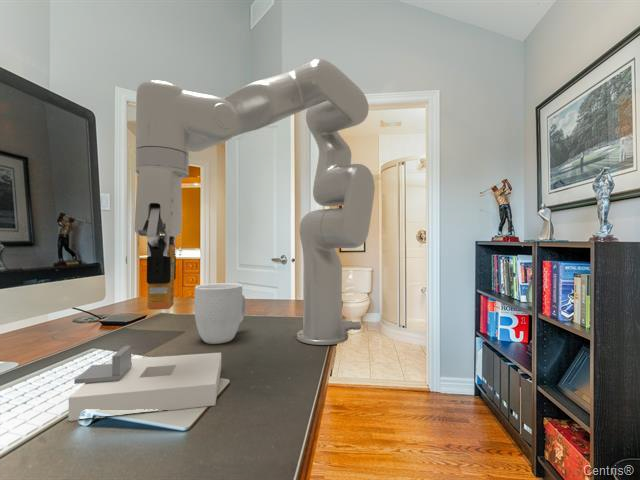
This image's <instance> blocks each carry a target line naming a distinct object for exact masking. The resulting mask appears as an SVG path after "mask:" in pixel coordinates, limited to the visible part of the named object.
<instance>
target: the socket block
mask: <svg viewBox="0 0 640 480" xmlns="http://www.w3.org/2000/svg"><path fill="white" fill-rule="evenodd" d="M131 362H132V366H131V368H130V369H129V370H128V371H127V372H126V373H125V374H124V375H123V376H122V377H121V378H120V380H114V381H102V382H91V383H83V385H82V386H80V387H79V388H78V389H77V390H76V391H75V392H73V393H72V394H71V395H70V396H69V397H68V412H67V413H68V415H67V417H68V418H67V420H68V422H73V421H75V422H76V421H80V420H79V416H80V413H81V411H83V410H85V409H100V410H134V409H135V410H136V409H144V410H145V409H148V410H149V409H153V410H155V409H158V410H168V411H175V410H184V409H185V410H186V409H194V408H203V407H204V408H205V407H211V406H212V407H213V406H216V402H217V397H218V390H219V384H220V378H221V373H222V352H209V353H195V354H193V353H192V354H182V355H181V354H180V355H166V356H153V357H137V358H131ZM107 364H112V359H111V360H110V361H108V362H107ZM103 418H104V417H99V416H96V417H95V418H94V419H103Z"/></svg>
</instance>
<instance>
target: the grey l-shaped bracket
mask: <svg viewBox="0 0 640 480" xmlns="http://www.w3.org/2000/svg"><path fill="white" fill-rule="evenodd" d="M111 357H112V359H111V360H112V364H108V363H107V364H106V363H105V364H92V365H90V367H89V368H87V369H86V370H85V371H83V372H82V373H80V374H79V375H78V376H77V377H76V378H74V381H73V382H74V385H78V384H79V385H80V384H85V383H91V382H102V381H114V380H120V378H121V377H122V376H123V375H124V374H125V373H126V372H127V371H128V370H129V369H130V368H131V366H132V362H131V359H132V345H124V346H123V347H121V348H120V349H119V350H118V351H116V352H115V353H114V354H113V355H112V356H111Z"/></svg>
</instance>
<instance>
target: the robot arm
mask: <svg viewBox="0 0 640 480" xmlns="http://www.w3.org/2000/svg"><path fill="white" fill-rule="evenodd" d="M361 89H362V88H360V87H359V86H358V85H357V84H356V83H354V81H352V79H350V77H349V76H347V75H346V74H345V73H344V72H343V71H342V70H341V69H340V68H339V67H337V66H336V65H335V64H333V63H332V62H329V60H326V59H324V58H314V59H312V60H310V61H308V62H307V63H304V64H302V65H300V66H298V67H297V68H294V69H292V70H289V71H287V72H284V73H280V74H277V75H273V76H270V77H267V78H263V79H260V80H255V81H253V82H251V83H249V84H246V85H245V86H242V87H240V88H239V89H237V90H235V91H233V92H232V93H230V94H228V95H226V96H224V97H219V96H216V95H212V94H206V93H201V92H196V91H190V90H186V89H183V88H182V87H180V86H178V85H177V84H174V83H171V82H168V81H164V80H158V79H151V80H146V81H143V82H142V83H140V84H139V85H138V87H137V89H136V95H135V96H136V97H135V98H136V99H135V103H136V106H135V107H136V108H135V109H136V110H135V111H136V112H135V173H136V174H138V176H137V178H138V179H137V184H136V195H135V196H136V198H135V209H134V211H135V213H134V232H135V234H136V235H137V236H140V237H146V240H147V244H146V245H147V246H146V283H147V285H148V284H167V283H170V281H171V257H168V255H169V244H171V245H175V246H176V238H177V237H179V236H180V235H181V233H182V232H181V231H182V222H183V221H182V219H183V218H182V214H183V213H182V212H183V210H182V209H183V208H182V207H183V205H182V203H183V201H182V200H183V195H182V194H183V193H182V192H183V189H182V188H183V187H182V179H183V180H184V179H188V178H189V175H190V174H189V172H190V171H189V167H190V165H189V164H190V162H189V161H190V159H189V157H190V152H192V153H193V152H194V153H196V152H201V151H204V150H206V149H208V148H212V147H213V146H217V145H219V144H222V143H225V142H227V141H229V140H231V139H232V138H234V137H237V136H239V135H242V134H245V133H246V134H247V133H249V132H252V131H257V130H260V129H263V128H265V127H267V126H271V125H273V124H275V123H276V122H279V121H282V120H284V119H286V118H288V117H291V116H293V115H296V114H298V113H300V112H302V111H304V110H306V112H305V121H306V124H307V127H308V129H309V132H310V133H311V135H312V136H313V138H314V140H315V142H316V145H317V147H318V157H317V158H318V159H317V164H316V165H317V167H316V170H315V176H314V180H313V181H314V182H313V188H312V195H313V200H314V202H315V203H317V205H320V206H322V207H336V208H325V209H317V210H316V209H315V210H312V211H309V212H308V213H306V214H305V215H304V216H303V217H302V219H301V220H300V224H299V238H300V243H301V248H302V256H303V257H302V259H303V278H302V279H303V282H302V283H303V286H302V287H303V290H302V291H303V298H302V299H303V301H302V303H303V304H302V306H303V310H302V311H303V313H302V316H303V319H302V320H303V321H302V324H303V325H302V326H303V327H302V329H301V330H299V331H297V332H296V339H297V340H298V341H299V342H301V343H304V344H308V345H313V346H315V345H316V346H332V345H339V344H342V343H344V342H346V341H347V340H348V339H349V333H348V332H349V330H354V331H357V330H361V329H362V323H361V322H360V321H353V320H345V319H344V318H343V290H342V289H343V266H342V265H343V263H342V261H341V258H340V256H339V254H338V252H337V250H336V249H357V248H359V247H361V246H363V245H364V243H366V241H367V239H368V234H369V231H370V225H371V220H372V211H373V207H374V198H375V192H376V190H375V179H374V176H373V173H372V171H371V170H370V168H369V167H368V166H366V165H364V164H362V163H352V149H351V148H350V146H349V144H348V143H347V142H346V141H345V139H344V138H343V137H342V136H341V134H340V133H339V131H342V130H345V129H349V128H352V127H353V128H354V127H356V126H359V125H360V124H362V123H363V122H365V121H366V119H367V117H368V116H369V108H370V107H369V103H368V99H367V97H366V95H365V93H364V92H363V90H361ZM351 163H352V164H351ZM340 206H342V207H340ZM338 207H339V208H338ZM176 262H177V256H176V255H175V269H174V281H175V280H176V276H177V275H176V269H177V264H176Z"/></svg>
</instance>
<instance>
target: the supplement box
mask: <svg viewBox="0 0 640 480" xmlns="http://www.w3.org/2000/svg"><path fill="white" fill-rule="evenodd" d="M175 256H176V244H175V245H171V244H169V255H168V257H171V281H170V283H167V284H148V283H147V296H146V297H147V298H146V299H147V305H146V306H147V307H146V308H147V310H148V311H151V310H152V311H153V310H155V311H156V310H169V309H171V308H172V307H173V306H174V304H175V303H174V300H175V298H174V297H175V294H174V293H175V280H174V269H175Z"/></svg>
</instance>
